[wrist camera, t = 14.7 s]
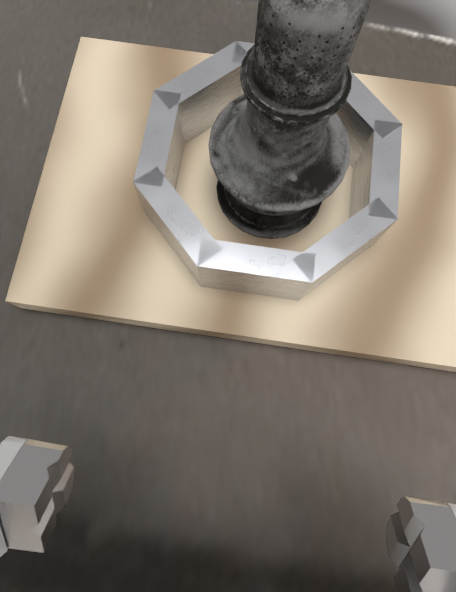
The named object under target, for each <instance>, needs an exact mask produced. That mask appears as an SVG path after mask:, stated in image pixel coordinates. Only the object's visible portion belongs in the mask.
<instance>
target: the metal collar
mask: <svg viewBox="0 0 456 592" xmlns="http://www.w3.org/2000/svg"><path fill="white" fill-rule="evenodd" d="M254 44H255V43H247V42H240V41H235V42H234V43H232V44H230V45H229V46H227V47H225V48H224V49H222V50H220V51H219V52H217V53H215V54H214V55H212V56H210V57H209V58H207V59H205V60H204V61H202V62H200V63H199V64H197V65H195V66H194V67H192V68H190V69H189V70H187V71H185V72H184V73H182V74H180V75H179V76H177V77H175V78H174V79H172V80H170V81H169V82H167V83H165V84H164V85H162V86H160V87H159V88H157V89H155V90H154V92H153V97H152V101H151V106H150V110H149V115H148V119H147V123H146V128H145V132H144V137H143V141H142V146H141V150H140V155H139V159H138V164H137V168H136V172H135V177H134V181H133V183H134V186H135V188H136V191H137V193H138V196H139V198H140V201H141V203H142V206H143V208H144V211H145V213H146V214H147V216H148V217H149V218H150V220H151V221H152V222H153V224H154V225H155V226H156V228H157V229H158V230H159V232H160V233H161V234H162V236H163V237H164V238H165V240H166V241H167V242H168V244H169V245H170V246H171V248H172V249H173V250H174V252H175V253H176V254H177V255H178V257H179V258H180V259H181V261H182V262H183V263H184V265H185V266H186V267H187V269H188V270H189V271H190V273H191V274H192V275H193V277H194V278H195V279H196V281H197V282H198V283H199V285H200V286H201V287H207V288H214V289H221V290H228V291H235V292H242V293H249V294H256V295H263V296H270V297H277V298H284V299H290V300H297V301H299V300H300V299H301V298H303V297H304V296H305V295H307V294H308V293H309V292H311V291H312V290H313V289H315V288H316V287H317V286H319V285H320V284H321V283H323V282H324V281H325V280H327V279H328V278H329V277H331V276H332V275H333V274H335V273H336V272H337V271H339V270H340V269H341V268H343V267H344V266H345V265H347V264H348V263H349V262H351V261H352V260H354V259H355V258H356V257H358V256H359V255H360V254H362V253H363V252H364V251H366V250H367V249H368V248H370V247H371V246H373V244H374V243H375V242H376V241H377V240H378V239H379V238H380V237H381V236H382V235H383V234H384V233H385V232H386V231H387V230H388V229H389V228H390V227H391V226H392V225H393V224H394V223H395V222H396V221H397V220H398V202H399V181H400V160H401V138H402V123H401V122H400V121H399V120H398V119H397V118H396V117H395V116H394V115H393V114H392V113H391V112H390V111H389V110H388V109H387V108H386V107H385V106H384V105H383V104H382V103H381V101H380V100H379V99H378V98H377V97H376V96H375V95H374V94H373V93H372V92H371V91H370V90H369V89H368V88H367V87H366V86H365V85H364V84H363V83H362V82H361V81H360V80H359V79H358V78H357V77H356V76H355V75H354V74H353V72H352V71H351V70H350V71H351V75H352V83H351V90H350V93H349V95H348V97H347V100H346V102H345V103H344V105H343V106H342V107H341V108H340V109H339V110H338V112H336V114H337V115H338V116H339V118H340V120H341V122H342V123H343V125H344V127H345V129H346V131H347V134H348V138H349V143H350V148H351V149H350V161H349V164H350V165H351V166H352V167H353V172H352V185H351V198H350V211H349V219H348V220H347V221H345V222H344V223H342V224H341V225H340V226H338V227H337V228H336V229H334V230H333V231H331V232H330V233H329V234H327V235H326V236H325V237H323V238H322V239H320V240H319V241H318V242H316V243H315V244H313V245H312V246H311V247H309V248H308V249H307V250H305V251H304V252H297V251H290V250H283V249H276V248H269V247H262V246H255V245H248V244H241V243H234V242H227V241H220V240H214V238H213V237H212V236H211V235H210V233H209V232H208V231H207V229H206V228H205V227H204V226H203V224H202V223H201V222H200V221H199V219H198V218H197V217H196V215H195V214H194V213H193V212H192V210H191V209H190V208H189V207H188V205H187V204H186V203H185V201H184V200H183V199H182V198H181V196H180V195H179V194H178V193H177V191H176V186H177V181H178V176H179V171H180V165H181V160H182V155H183V150H184V145H185V144H186V143H188V142H189V141H191V140H192V139H194V138H196V137H197V136H199V135H200V134H202V133H204V132H205V131H207V130H208V129H210V128H211V127H212V126H213V124H214V122H215V121H216V119H217V117H218V115H219V113H220V112H221V111H222V110H223V109H224V108H225V107H226V106H227V105H228V104H229V103H230V102H231V101H233V100H234V99H236V98H238V97H239V96H241V95H242V94H244V92H243V90H242V87H241V81H240V70H241V64H242V61H243V59H244V57H245V55H246V53H247V51H248V50H249V49H250V48H251V47H252V46H253V45H254Z"/></svg>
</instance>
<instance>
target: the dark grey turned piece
mask: <svg viewBox="0 0 456 592" xmlns="http://www.w3.org/2000/svg"><path fill="white" fill-rule="evenodd" d="M369 2H370V0H259V3H258V13H257V24H256V34H255V44H254V45H253V46H252V47H251V48H250V49H249V50H248V51H247V53H246V55H245V57H244V59H243V61H242V64H241V70H240V81H241V87H242V90H243V92H244V94H242V95H241V96H239V97H238V98H236V99H234V100H233V101H231V102H230V103H229V104H228V105H227V106H226V107H225V108H224V109H223V110H222V111H221V112H220V113H219V115H218V117H217V119H216V121H215V122H214V124H213V126H212V128H211V133H210V139H209V144H208V147H209V155H210V163H211V165H212V168H213V170H214V172H215V175H216V177H217V179H218V180H217V186H216V189H217V197H218V202H219V204H220V207H221V209H222V211H223V213H224V214H225V216H226V217H227V218H228V219H229V221H230V222H231V223H232V224H233V225H235V226H236V227H237V228H239V229H240V230H241V231H243V232H245V233H248V234H250V235H252V236H255V237H260V238H267V239H275V238H285V237H287V236H290V235H293V234H295V233H298V232H299V231H301V230H302V229H304V228H305V227H306V226H308V225H309V224H310V223H311V221H312V220H313V219H314V218H315V216H316V215H317V213H318V211H319V209H320V206H321V204H322V201H323V200H325V199H326V198H327V197H329V196H330V195H332V193H333V192H334V191H335V190H336V188H337V187H338V186H339V185H340V183H341V182H342V181H343V179H344V176H345V174H346V171H347V169H348V166H349V161H350V149H351V148H350V143H349V138H348V134H347V131H346V129H345V127H344V125H343V123H342V122H341V120H340V118H339V116H338V115H337V114H336V112H338V110H339V109H340V108H341V107H342V106H343V105H344V103H345V102H346V100H347V97H348V95H349V93H350V90H351V83H352V75H351V71H350V67H349V64H348V62H349V59H350V57H351V54H352V51H353V49H354V46H355V43H356V41H357V38H358V35H359V33H360V30H361V27H362V25H363V22H364V19H365V17H366V14H367V12H368V9H369Z"/></svg>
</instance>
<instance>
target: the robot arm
mask: <svg viewBox="0 0 456 592" xmlns="http://www.w3.org/2000/svg"><path fill="white" fill-rule="evenodd" d="M71 457H72V449H71V446H67V445H61V444H55V443H49V442H43V441H37V440H31V439H26V438H20V437H13V436H8V437H7V438H6V439H4V440H3V441H2V442H1V443H0V557H1V556H2V555H3V554H4V553H6V552H7V548H10V549H18V550H26V551H34V552H41V553H44V552H45V550H46V547H47V545H48V543H49V541H50V539H51V536H52V534H53V532H54V530H55V528H56V526H57V521H56V515H55V514H56V513H57V512H59V511H60V510H61V509H63V508H64V507H65V506H66V503H67V501H68V499H69V497H70V494H71V490H72V487H73V483H74V474H75V473H74V467H73V465H72V464H71V463H70V462H69V461H70V459H71ZM397 507H398V511H399V512H397V513H395V514H393V515H391V517H390V519H389V521H388V523H387V529H386V543H387V549H388V553H389V557H390V558H391V560H392V561H393V562H394V563H395V565H396V566H397V567H398V569H397V572H396V574H395V576H394V579H395V583H396V587H397V592H456V504H451V503H445V502H442V501H435V500H428V499H420V498H413V497H405V496H404V497H402V498H400V500H399V502H398V504H397Z"/></svg>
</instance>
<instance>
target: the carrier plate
mask: <svg viewBox="0 0 456 592" xmlns="http://www.w3.org/2000/svg"><path fill="white" fill-rule="evenodd" d="M212 55H214V54H206V53H199V52H191V51H184V50H176V49H169V48H161V47H154V46H146V45H139V44H131V43H124V42H117V41H109V40H102V39H94V38H87V37H81V39H80V42H79V46H78V49H77V53H76V56H75V60H74V63H73V67H72V70H71V74H70V77H69V81H68V84H67V88H66V91H65V95H64V98H63V102H62V105H61V109H60V112H59V116H58V119H57V122H56V126H55V129H54V133H53V136H52V140H51V143H50V147H49V150H48V154H47V157H46V161H45V164H44V168H43V171H42V175H41V178H40V182H39V185H38V189H37V192H36V196H35V199H34V203H33V206H32V210H31V213H30V217H29V220H28V223H27V227H26V230H25V234H24V237H23V241H22V244H21V248H20V251H19V255H18V258H17V262H16V265H15V269H14V272H13V276H12V279H11V283H10V286H9V290H8V293H7V297H6V300H5V301H6V302H8V303H11V304H13V305H15V306H17V307H19V308H23V309H30V310H36V311H43V312H50V313H57V314H64V315H70V316H77V317H84V318H91V319H98V320H104V321H111V322H118V323H125V324H132V325H139V326H145V327H152V328H159V329H166V330H173V331H179V332H186V333H193V334H200V335H207V336H213V337H220V338H227V339H234V340H241V341H247V342H254V343H261V344H268V345H275V346H282V347H288V348H295V349H302V350H309V351H316V352H322V353H329V354H336V355H343V356H350V357H356V358H363V359H370V360H377V361H384V362H390V363H397V364H404V365H411V366H418V367H425V368H431V369H438V370H445V371H452V372H456V87H454V86H446V85H439V84H431V83H424V82H416V81H409V80H401V79H394V78H386V77H379V76H371V75H364V74H356V73H353V74H354V75H355V76H356V77H357V78H358V79H359V80H360V81H361V82H362V83H363V84H364V85H365V86H366V87H367V88H368V89H369V90H370V91H371V92H372V93H373V94H374V95H375V96H376V97H377V98H378V99H379V100H380V101H381V103H382V104H383V105H384V106H385V107H386V108H387V109H388V110H389V111H390V112H391V113H392V114H393V115H394V116H395V117H396V118H397V119H398V120H399V121H400V122H401V123H402V138H401V160H400V181H399V202H398V220H397V221H396V222H395V223H394V224H393V225H392V226H391V227H390V228H389V229H388V230H387V231H386V232H385V233H384V234H383V235H382V236H381V237H380V238H379V239H378V240H377V241H376V242H375V243H374V244H373V246H371V247H370V248H368V249H367V250H366V251H364V252H363V253H362V254H360V255H359V256H358V257H356V258H355V259H354V260H352V261H351V262H349V263H348V264H347V265H345V266H344V267H343V268H341V269H340V270H339V271H337V272H336V273H335V274H333V275H332V276H331V277H329V278H328V279H327V280H325V281H324V282H323V283H321V284H320V285H319V286H317V287H316V288H315V289H313V290H312V291H311V292H309V293H308V294H307V295H305V296H304V297H303V298H301V299H300V300H299V301H297V300H290V299H284V298H277V297H270V296H263V295H256V294H249V293H242V292H235V291H228V290H221V289H214V288H207V287H201V286H200V285H199V283H198V282H197V281H196V279H195V278H194V277H193V275H192V274H191V273H190V271H189V270H188V269H187V267H186V266H185V265H184V263H183V262H182V261H181V259H180V258H179V257H178V255H177V254H176V253H175V252H174V250H173V249H172V248H171V246H170V245H169V244H168V242H167V241H166V240H165V238H164V237H163V236H162V234H161V233H160V232H159V230H158V229H157V228H156V226H155V225H154V224H153V222H152V221H151V220H150V218H149V217H148V216H147V214H146V213H145V211H144V208H143V206H142V203H141V201H140V198H139V196H138V193H137V191H136V188H135V186H134V183H133V181H134V177H135V172H136V168H137V164H138V159H139V155H140V150H141V146H142V141H143V137H144V132H145V128H146V123H147V119H148V115H149V110H150V106H151V101H152V97H153V92H154V90H155V89H157V88H159V87H160V86H162V85H164V84H165V83H167V82H169V81H170V80H172V79H174V78H175V77H177V76H179V75H180V74H182V73H184V72H185V71H187V70H189V69H190V68H192V67H194V66H195V65H197V64H199V63H200V62H202V61H204V60H205V59H207V58H209V57H210V56H212ZM211 128H212V127H211ZM211 128H210V129H208V130H207V131H205V132H204V133H202V134H200V135H199V136H197V137H196V138H194V139H192V140H191V141H189V142H188V143H186V144H185V145H184V150H183V155H182V160H181V165H180V171H179V176H178V181H177V186H176V191H177V193H178V194H179V195H180V196H181V198H182V199H183V200H184V201H185V203H186V204H187V205H188V207H189V208H190V209H191V210H192V212H193V213H194V214H195V215H196V217H197V218H198V219H199V221H200V222H201V223H202V224H203V226H204V227H205V228H206V229H207V231H208V232H209V233H210V235H211V236H212V237H213V238H214V240H220V241H227V242H234V243H241V244H248V245H255V246H262V247H269V248H276V249H283V250H290V251H297V252H304V251H305V250H307V249H308V248H309V247H311V246H312V245H313V244H315V243H316V242H318V241H319V240H320V239H322V238H323V237H325V236H326V235H327V234H329V233H330V232H331V231H333V230H334V229H336V228H337V227H338V226H340V225H341V224H342V223H344V222H345V221H347V220H348V219H349V211H350V198H351V185H352V172H353V167H352V166H351V165H350V164H349V166H348V169H347V171H346V174H345V176H344V179H343V181H342V182H341V183H340V185H339V186H338V187H337V188H336V190H335V191H334V192H333V193H332V195H330V196H329V197H327V198H326V199H325V200H323V201H322V204H321V206H320V209H319V211H318V213H317V215H316V216H315V218H314V219H313V220H312V221H311V223H310V224H309V225H308V226H306V227H305V228H304V229H302V230H301V231H299V232H298V233H295V234H293V235H290V236H287V237H285V238H275V239H267V238H260V237H255V236H252V235H250V234H248V233H245V232H243V231H241V230H240V229H239V228H237V227H236V226H235V225H233V224H232V223H231V222H230V221H229V219H228V218H227V217H226V216H225V214H224V213H223V211H222V209H221V207H220V204H219V202H218V197H217V189H216V186H217V180H218V179H217V177H216V175H215V172H214V170H213V168H212V165H211V163H210V155H209V147H208V144H209V139H210V133H211Z"/></svg>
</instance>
